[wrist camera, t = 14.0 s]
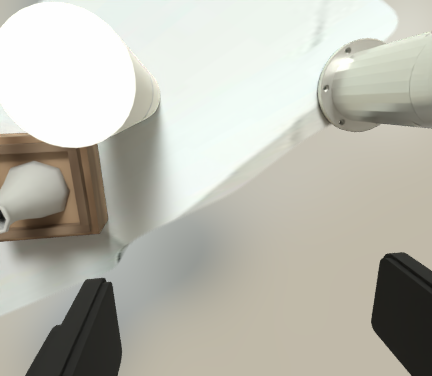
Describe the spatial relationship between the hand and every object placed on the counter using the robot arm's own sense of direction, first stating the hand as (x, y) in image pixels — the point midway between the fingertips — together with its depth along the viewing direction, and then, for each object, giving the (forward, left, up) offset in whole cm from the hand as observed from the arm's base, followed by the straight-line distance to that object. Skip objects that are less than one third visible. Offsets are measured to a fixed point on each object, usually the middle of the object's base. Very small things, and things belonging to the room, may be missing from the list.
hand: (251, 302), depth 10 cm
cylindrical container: (+8, -8, -34) cm, 36 cm away
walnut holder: (+20, +3, -34) cm, 39 cm away
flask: (+20, +3, -29) cm, 35 cm away
